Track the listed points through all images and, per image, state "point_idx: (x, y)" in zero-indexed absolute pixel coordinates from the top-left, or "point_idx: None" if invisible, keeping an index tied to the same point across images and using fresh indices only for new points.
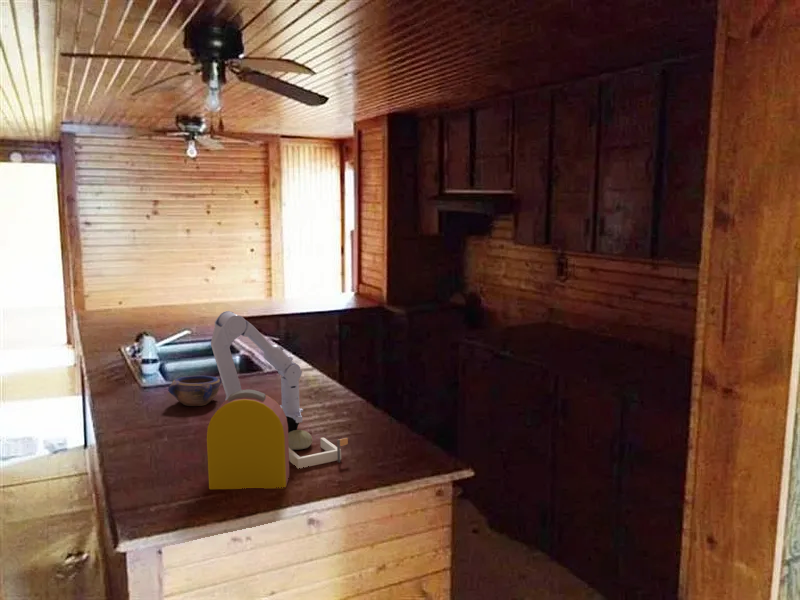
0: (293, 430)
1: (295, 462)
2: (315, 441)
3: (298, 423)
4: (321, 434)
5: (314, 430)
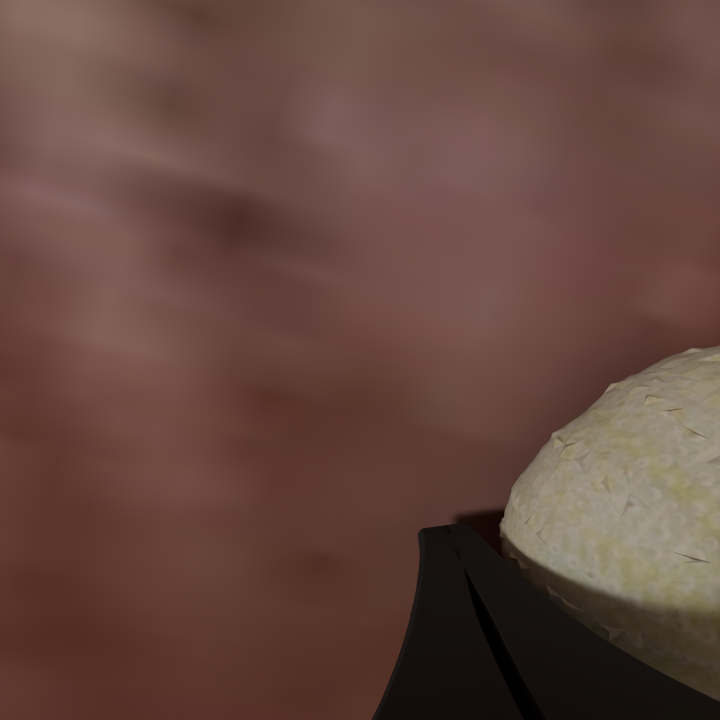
0: None
1: None
2: (618, 251)
3: (674, 692)
4: (365, 56)
5: (124, 113)
